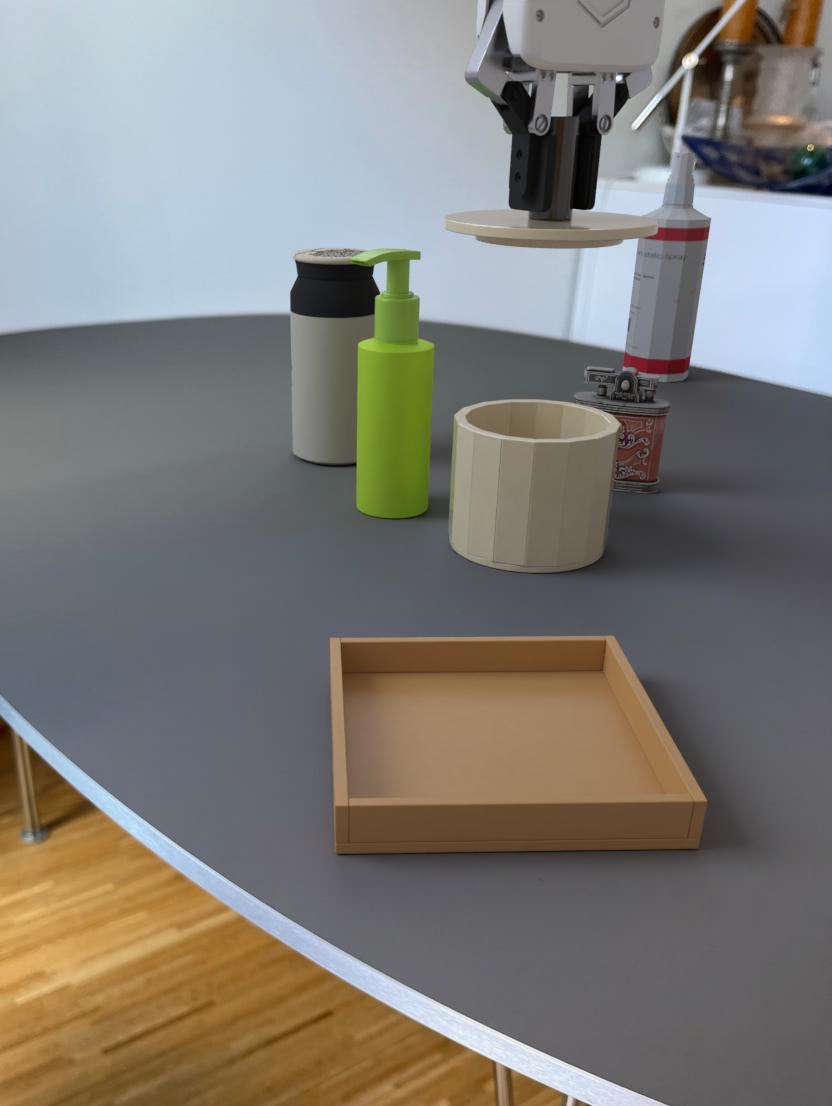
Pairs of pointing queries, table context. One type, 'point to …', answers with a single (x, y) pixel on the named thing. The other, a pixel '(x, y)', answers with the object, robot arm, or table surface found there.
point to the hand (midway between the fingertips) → (551, 206)
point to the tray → (502, 749)
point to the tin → (532, 484)
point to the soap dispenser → (394, 398)
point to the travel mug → (328, 351)
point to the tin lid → (554, 210)
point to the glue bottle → (668, 281)
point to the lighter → (631, 423)
